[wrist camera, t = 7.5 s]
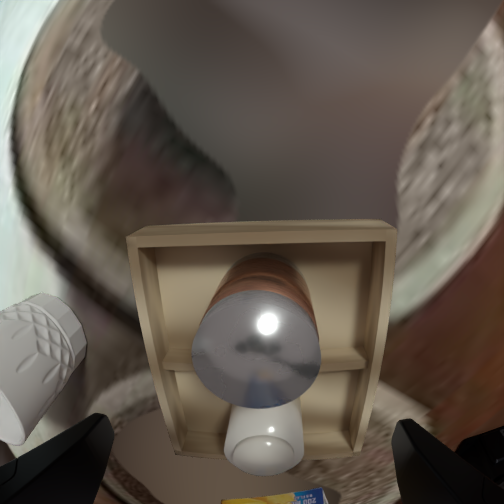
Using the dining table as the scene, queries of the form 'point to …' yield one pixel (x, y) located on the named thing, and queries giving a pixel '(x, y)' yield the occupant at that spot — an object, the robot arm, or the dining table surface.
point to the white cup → (35, 361)
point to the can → (258, 334)
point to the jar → (265, 438)
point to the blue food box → (285, 498)
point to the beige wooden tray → (324, 305)
